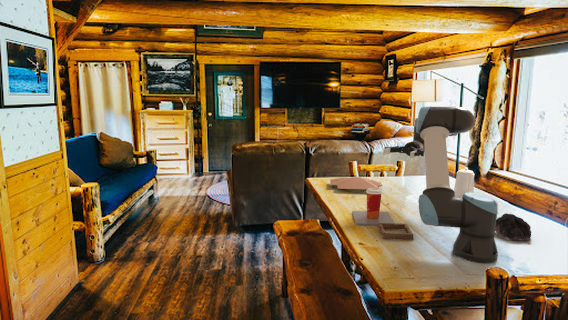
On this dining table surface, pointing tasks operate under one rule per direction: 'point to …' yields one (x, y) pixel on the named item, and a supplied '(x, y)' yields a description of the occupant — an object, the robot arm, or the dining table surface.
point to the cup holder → (399, 236)
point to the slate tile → (362, 219)
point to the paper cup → (373, 202)
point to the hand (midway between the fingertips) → (397, 153)
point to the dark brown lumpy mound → (512, 228)
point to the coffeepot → (464, 182)
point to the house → (355, 183)
